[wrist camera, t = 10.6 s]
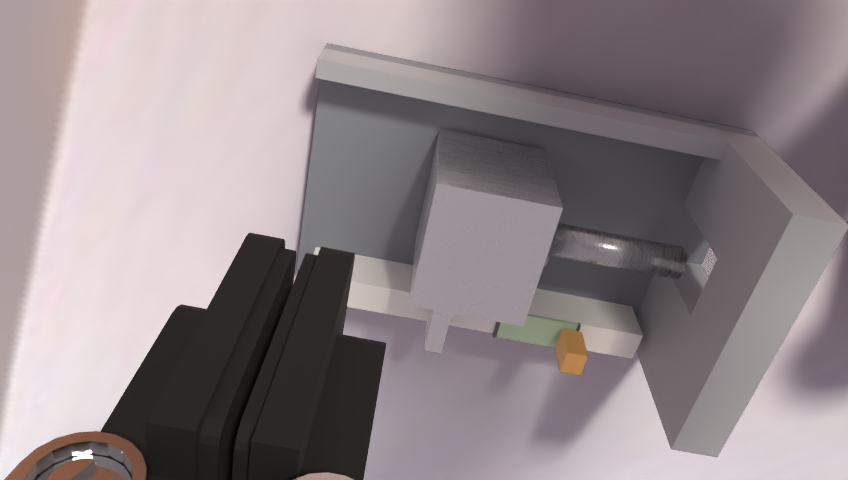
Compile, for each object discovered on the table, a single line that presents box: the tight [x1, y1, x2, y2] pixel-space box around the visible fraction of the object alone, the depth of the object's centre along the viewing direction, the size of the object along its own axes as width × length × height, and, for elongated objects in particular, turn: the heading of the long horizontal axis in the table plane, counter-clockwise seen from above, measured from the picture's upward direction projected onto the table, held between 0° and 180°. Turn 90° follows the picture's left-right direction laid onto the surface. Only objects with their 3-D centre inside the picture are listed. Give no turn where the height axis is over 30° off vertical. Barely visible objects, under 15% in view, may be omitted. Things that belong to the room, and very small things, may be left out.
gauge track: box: [296, 43, 848, 457], centre depth 37 cm, size 14×24×11 cm, turn 79°
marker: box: [555, 329, 588, 375], centre depth 40 cm, size 1×1×2 cm
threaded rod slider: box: [409, 129, 687, 353], centre depth 39 cm, size 11×14×7 cm
